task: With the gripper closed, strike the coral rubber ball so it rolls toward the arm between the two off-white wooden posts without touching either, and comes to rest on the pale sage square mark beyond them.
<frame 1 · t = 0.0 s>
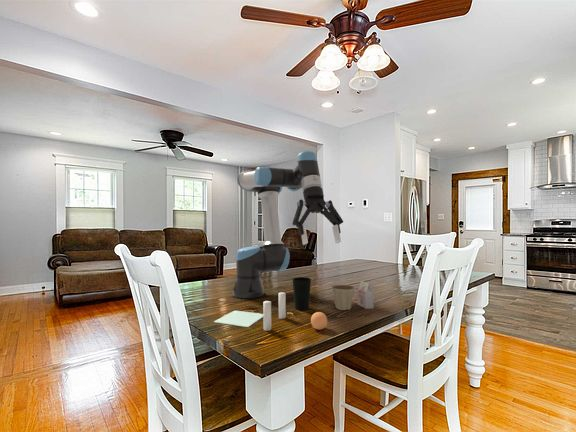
hand: (322, 243, 103), 28 cm above the table, tool tilted 20°, fingers open, 13 cm apart
cup: (301, 308, 118), on the table
left post: (267, 329, 95), on the table
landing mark: (240, 318, 106), on the table
milk carton: (365, 306, 120), on the table
ball: (319, 320, 95), on the table
flower pot: (343, 308, 118), on the table
right post: (282, 317, 107), on the table
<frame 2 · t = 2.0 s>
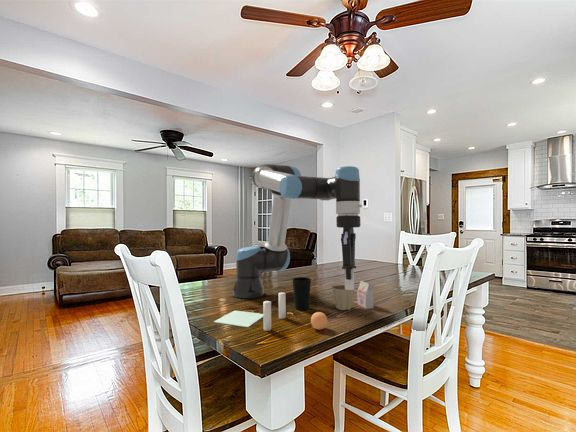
hand: (349, 289, 91), 14 cm above the table, tool pointing down, fingers closed
nothing on the table moved.
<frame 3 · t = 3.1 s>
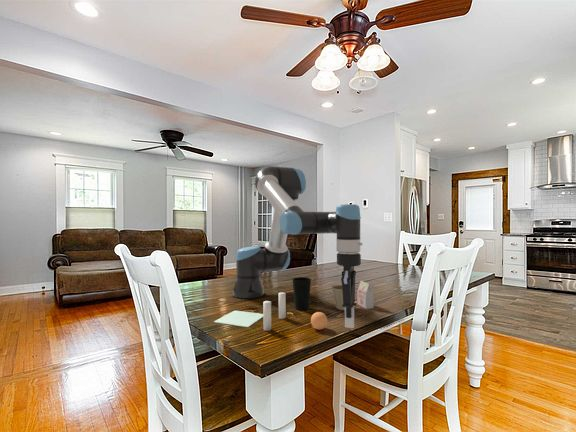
hand: (349, 326, 91), 2 cm above the table, tool pointing down, fingers closed
nothing on the table moved.
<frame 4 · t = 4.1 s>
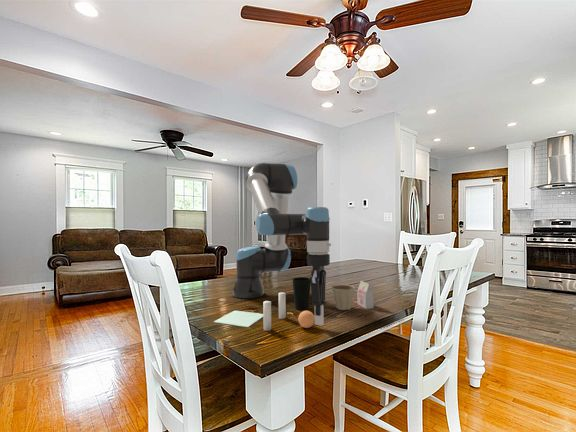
hand: (319, 324, 95), 1 cm above the table, tool pointing down, fingers closed
ball: (306, 319, 96), on the table, touching gripper
everything else where it was.
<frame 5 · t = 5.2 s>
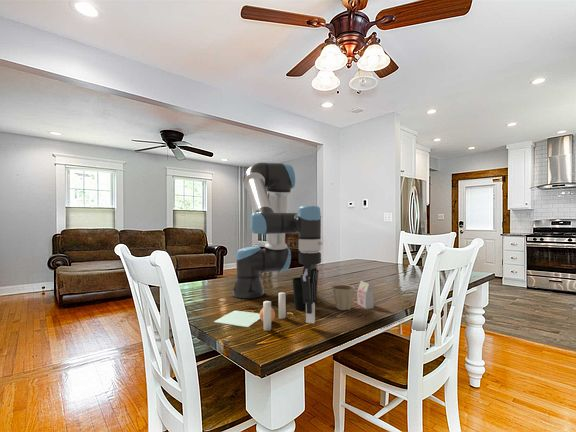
hand: (310, 322, 96), 2 cm above the table, tool pointing down, fingers closed
ball: (267, 314, 102), on the table
everything else where it was.
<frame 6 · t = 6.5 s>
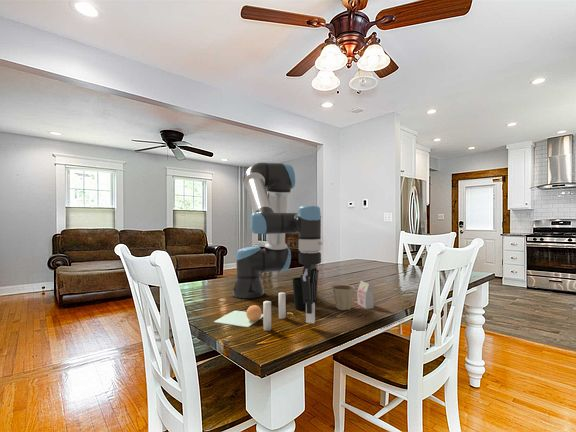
hand: (310, 322, 96), 2 cm above the table, tool pointing down, fingers closed
ball: (254, 313, 103), on the table
everything else where it was.
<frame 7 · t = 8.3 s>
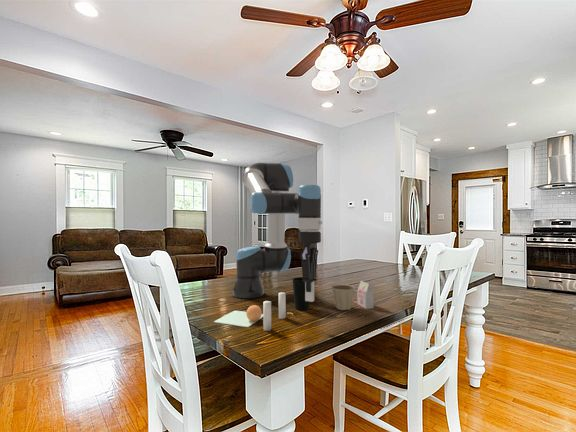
hand: (309, 300, 97), 9 cm above the table, tool pointing down, fingers closed
nothing on the table moved.
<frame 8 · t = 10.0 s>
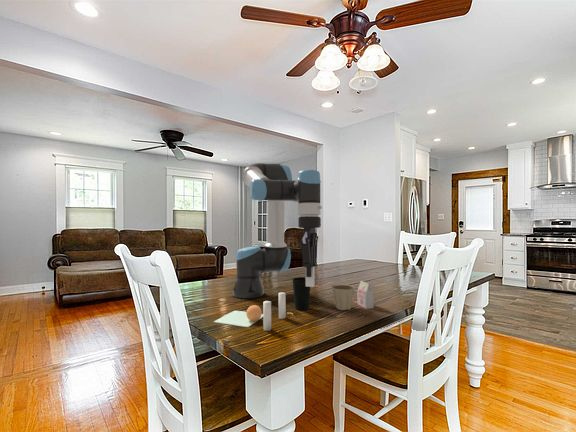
hand: (310, 286, 96), 14 cm above the table, tool pointing down, fingers closed
nothing on the table moved.
at the end: ball 5.9 cm from the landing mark (horizontally); ball never touched left post; ball never touched right post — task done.
